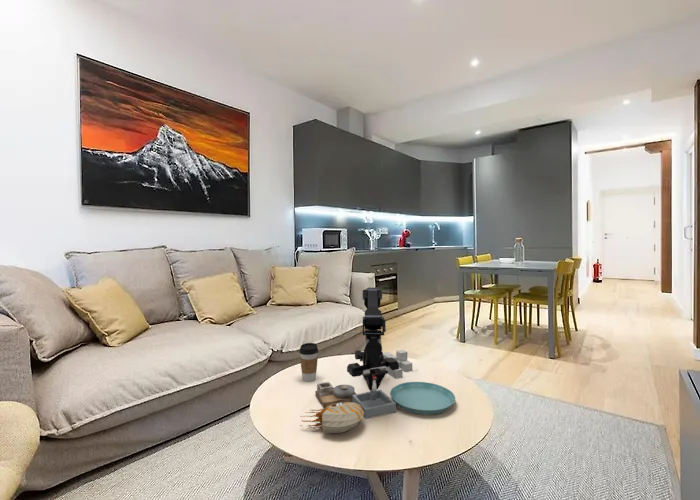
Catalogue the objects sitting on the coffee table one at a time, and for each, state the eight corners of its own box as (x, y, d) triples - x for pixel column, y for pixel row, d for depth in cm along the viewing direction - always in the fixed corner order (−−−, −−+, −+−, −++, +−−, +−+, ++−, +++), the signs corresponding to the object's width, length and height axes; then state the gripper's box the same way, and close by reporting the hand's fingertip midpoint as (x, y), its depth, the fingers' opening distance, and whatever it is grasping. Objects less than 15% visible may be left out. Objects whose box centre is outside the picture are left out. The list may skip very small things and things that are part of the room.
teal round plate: (466, 401, 138) (466, 392, 138) (434, 427, 120) (434, 417, 120) (412, 383, 154) (412, 376, 154) (377, 404, 136) (377, 395, 136)
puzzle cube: (395, 379, 158) (395, 361, 158) (381, 369, 169) (381, 353, 169) (417, 374, 164) (417, 357, 163) (403, 365, 174) (403, 349, 174)
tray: (380, 397, 140) (380, 389, 140) (395, 412, 129) (395, 403, 129) (352, 403, 136) (352, 394, 136) (365, 418, 125) (365, 409, 125)
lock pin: (375, 396, 134) (375, 373, 134) (378, 399, 132) (378, 376, 131) (368, 397, 133) (367, 374, 133) (371, 401, 131) (371, 377, 130)
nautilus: (296, 441, 113) (304, 418, 128) (364, 438, 112) (365, 416, 127) (294, 416, 113) (303, 396, 128) (362, 413, 112) (363, 393, 127)
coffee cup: (320, 375, 162) (320, 342, 162) (316, 383, 154) (316, 349, 153) (302, 375, 163) (301, 342, 162) (297, 382, 155) (297, 348, 154)
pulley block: (348, 389, 148) (348, 377, 148) (358, 401, 138) (358, 388, 137) (315, 395, 143) (315, 383, 142) (323, 408, 132) (323, 395, 132)
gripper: (385, 338, 142) (385, 377, 143) (341, 344, 136) (341, 385, 136) (399, 347, 132) (399, 388, 133) (352, 353, 125) (353, 397, 126)
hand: (373, 389), depth 132 cm, fingers closed on lock pin, 2 cm apart
